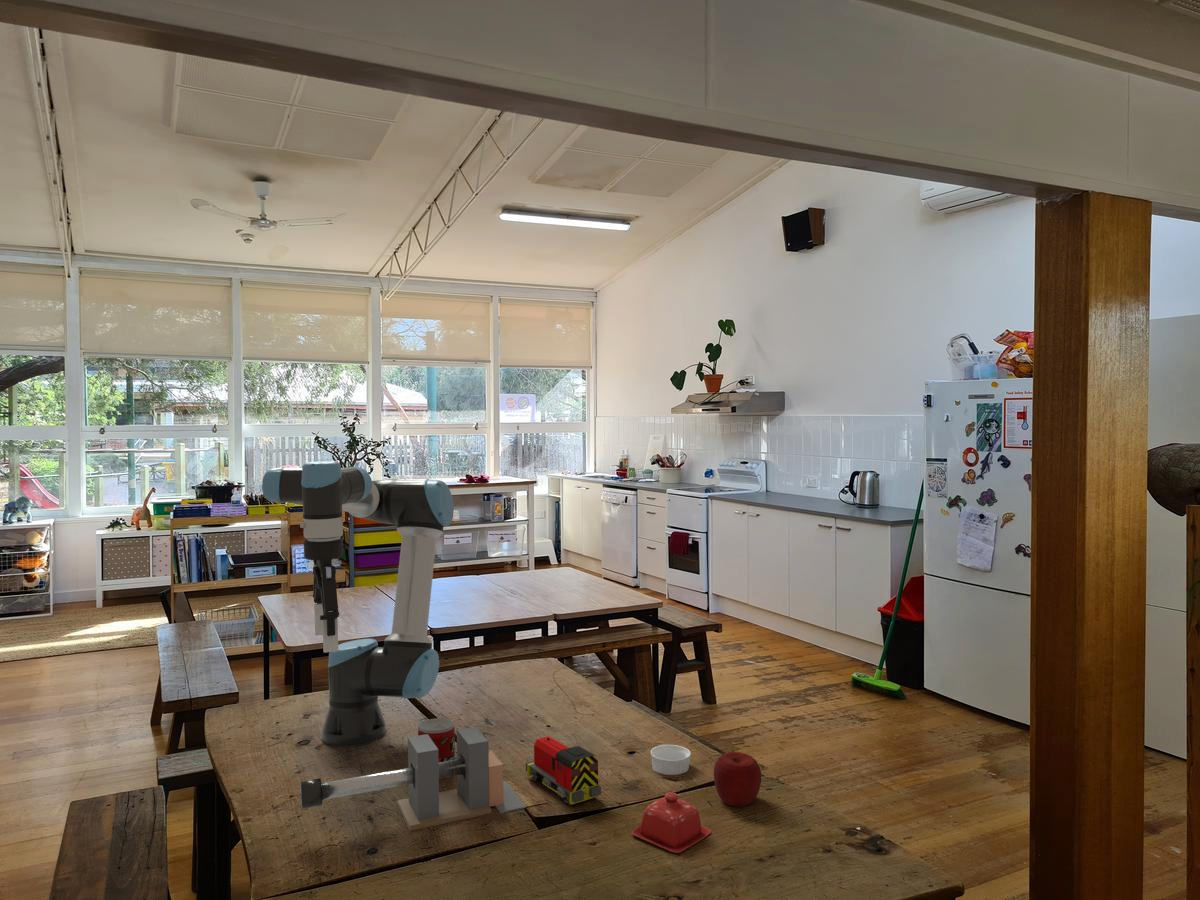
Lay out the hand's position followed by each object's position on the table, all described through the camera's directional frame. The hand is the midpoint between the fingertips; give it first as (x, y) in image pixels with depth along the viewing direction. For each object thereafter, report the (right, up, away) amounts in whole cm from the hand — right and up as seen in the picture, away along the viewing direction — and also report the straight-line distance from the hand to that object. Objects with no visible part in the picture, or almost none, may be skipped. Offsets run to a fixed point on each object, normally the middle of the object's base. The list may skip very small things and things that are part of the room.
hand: (326, 642), depth 169 cm
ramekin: (+71, -32, +15) cm, 79 cm away
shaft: (+14, -27, -7) cm, 31 cm away
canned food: (+19, -32, +15) cm, 41 cm away
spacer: (+33, -32, +1) cm, 46 cm away
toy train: (+47, -33, +6) cm, 58 cm away
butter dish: (+69, -33, -14) cm, 78 cm away
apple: (+83, -32, -1) cm, 89 cm away
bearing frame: (+24, -33, -3) cm, 41 cm away
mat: (+37, -32, +3) cm, 50 cm away
